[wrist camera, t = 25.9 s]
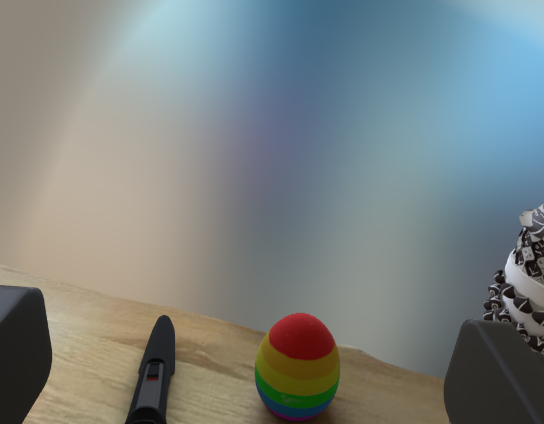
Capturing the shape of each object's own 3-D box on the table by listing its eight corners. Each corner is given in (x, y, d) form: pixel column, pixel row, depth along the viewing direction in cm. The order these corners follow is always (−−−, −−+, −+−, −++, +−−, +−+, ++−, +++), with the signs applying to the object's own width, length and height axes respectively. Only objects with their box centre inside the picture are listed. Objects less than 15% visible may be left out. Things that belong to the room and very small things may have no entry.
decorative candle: (545, 547, 35) (699, 265, 24) (424, 480, 39) (511, 215, 29) (551, 458, 42) (672, 211, 32) (448, 410, 46) (525, 177, 36)
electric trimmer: (182, 336, 53) (181, 313, 52) (165, 454, 39) (164, 427, 38) (149, 335, 53) (148, 313, 52) (120, 455, 39) (117, 428, 38)
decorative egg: (300, 450, 41) (314, 364, 37) (235, 399, 45) (240, 317, 41) (349, 399, 47) (365, 319, 42) (286, 358, 51) (295, 282, 47)
